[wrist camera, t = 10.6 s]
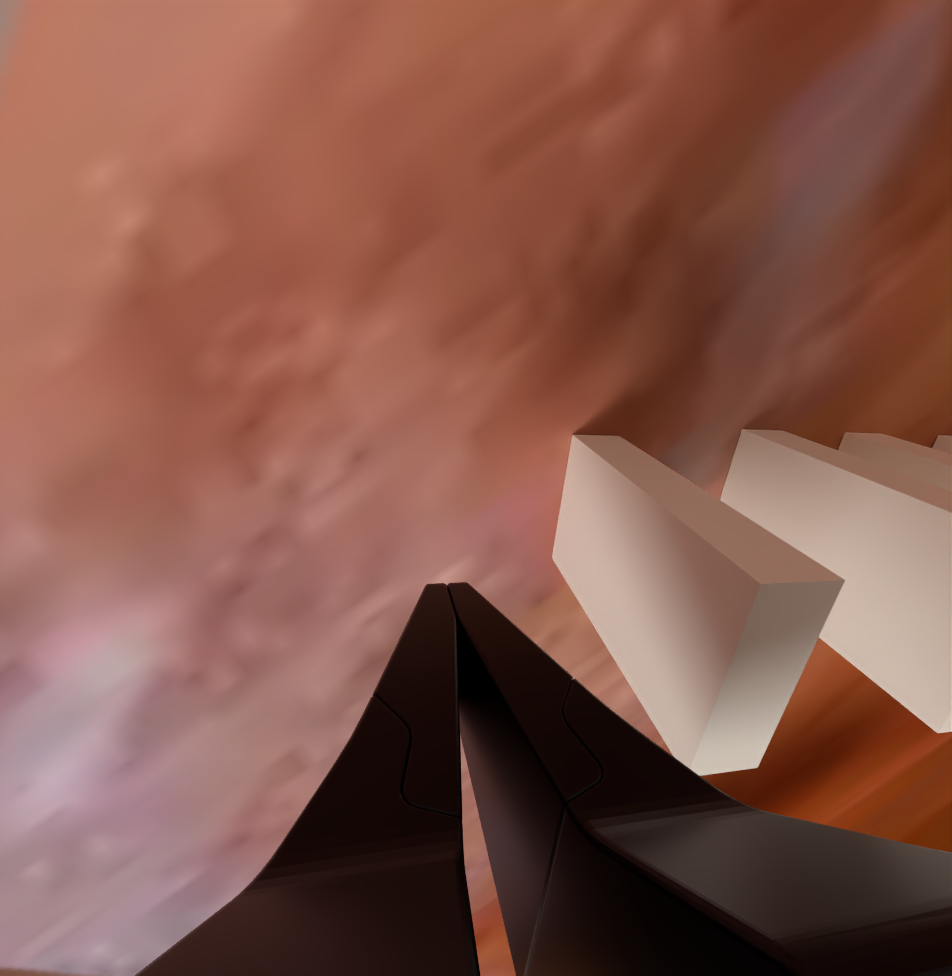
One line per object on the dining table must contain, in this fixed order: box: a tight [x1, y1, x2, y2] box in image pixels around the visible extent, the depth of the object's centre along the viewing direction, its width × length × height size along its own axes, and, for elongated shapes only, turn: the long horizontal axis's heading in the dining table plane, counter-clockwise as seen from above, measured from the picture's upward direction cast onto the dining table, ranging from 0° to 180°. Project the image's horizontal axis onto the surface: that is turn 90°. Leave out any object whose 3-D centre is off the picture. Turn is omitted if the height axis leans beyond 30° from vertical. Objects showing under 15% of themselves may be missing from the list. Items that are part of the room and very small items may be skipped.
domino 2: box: [720, 429, 952, 733], centre depth 13 cm, size 4×2×8 cm, turn 176°
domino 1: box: [552, 435, 845, 776], centre depth 12 cm, size 4×2×8 cm, turn 176°
